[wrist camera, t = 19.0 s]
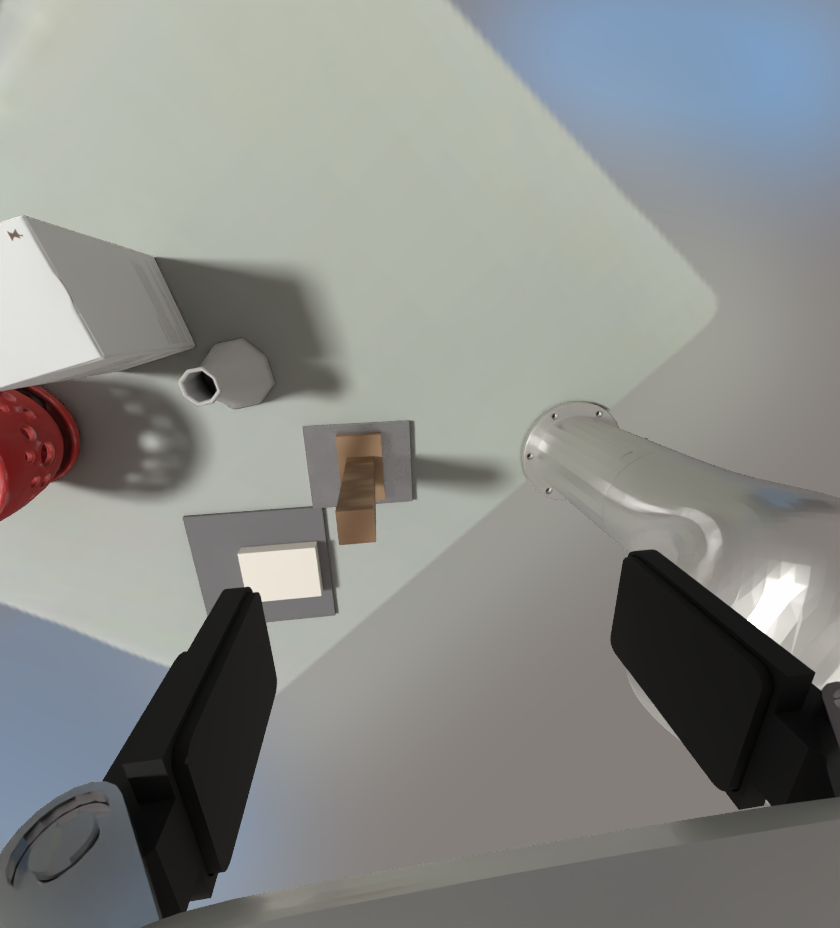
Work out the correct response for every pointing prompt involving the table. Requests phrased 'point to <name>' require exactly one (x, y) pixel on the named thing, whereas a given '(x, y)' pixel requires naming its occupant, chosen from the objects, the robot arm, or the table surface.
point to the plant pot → (33, 445)
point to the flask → (229, 376)
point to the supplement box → (79, 306)
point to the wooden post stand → (359, 486)
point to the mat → (228, 532)
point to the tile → (282, 570)
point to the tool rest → (327, 469)
